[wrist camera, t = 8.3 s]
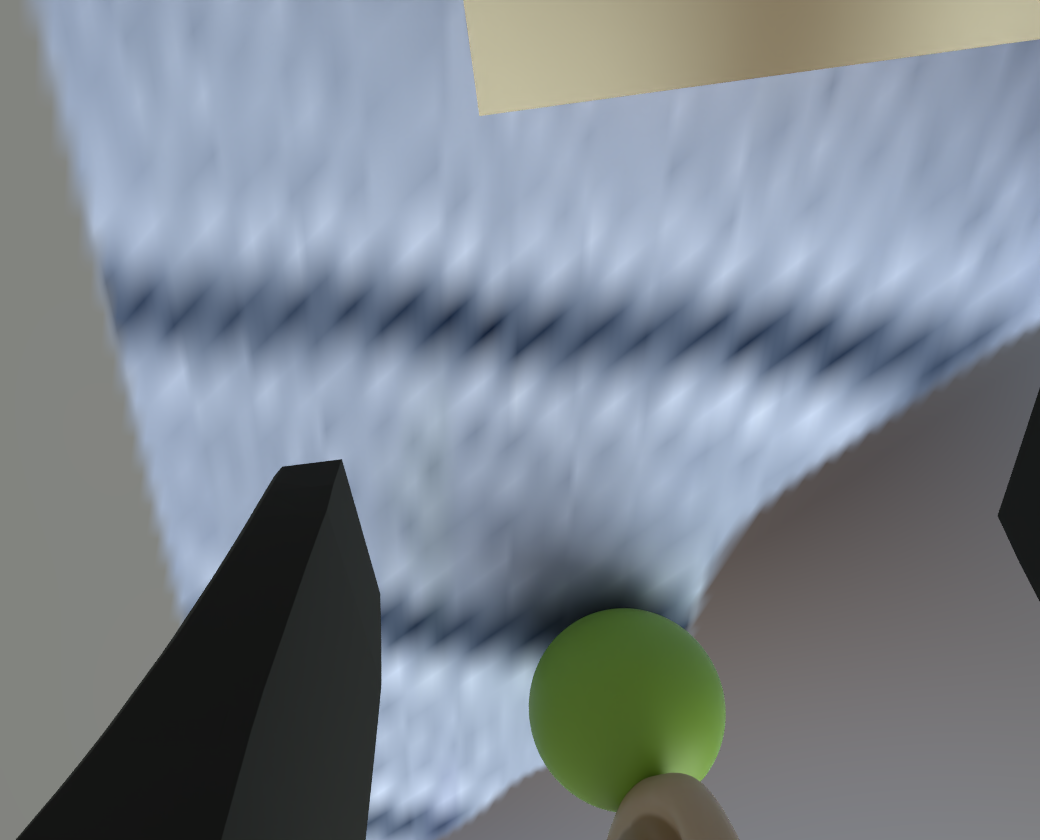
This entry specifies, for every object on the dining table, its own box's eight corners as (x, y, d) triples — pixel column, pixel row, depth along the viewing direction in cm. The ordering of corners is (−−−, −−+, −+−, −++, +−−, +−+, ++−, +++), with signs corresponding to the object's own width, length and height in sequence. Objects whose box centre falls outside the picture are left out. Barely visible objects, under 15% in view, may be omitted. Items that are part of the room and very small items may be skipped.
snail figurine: (746, 563, 26) (925, 1047, 16) (655, 694, 30) (759, 1154, 20) (571, 529, 25) (657, 1035, 15) (497, 671, 28) (530, 1152, 19)
